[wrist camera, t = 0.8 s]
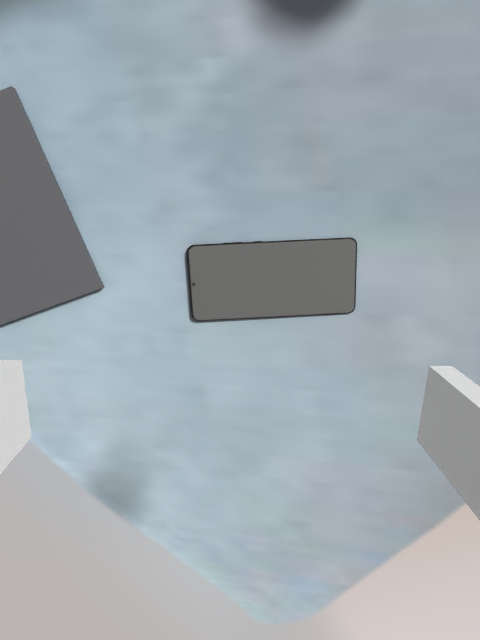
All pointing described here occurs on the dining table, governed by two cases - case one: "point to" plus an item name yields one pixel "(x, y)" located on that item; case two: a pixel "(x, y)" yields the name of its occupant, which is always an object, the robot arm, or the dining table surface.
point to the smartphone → (272, 278)
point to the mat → (35, 225)
